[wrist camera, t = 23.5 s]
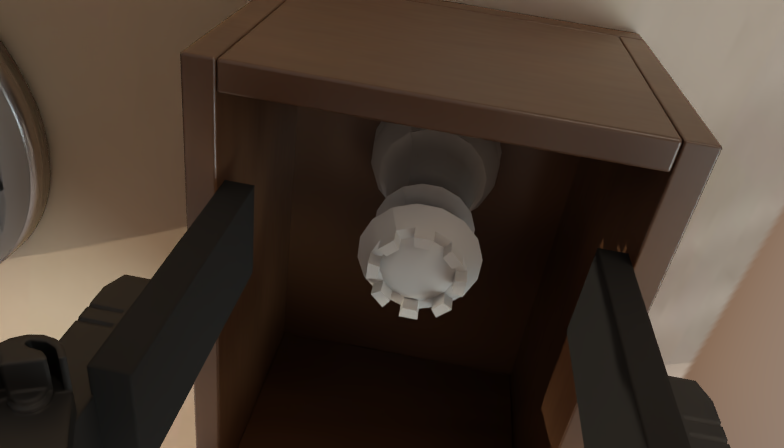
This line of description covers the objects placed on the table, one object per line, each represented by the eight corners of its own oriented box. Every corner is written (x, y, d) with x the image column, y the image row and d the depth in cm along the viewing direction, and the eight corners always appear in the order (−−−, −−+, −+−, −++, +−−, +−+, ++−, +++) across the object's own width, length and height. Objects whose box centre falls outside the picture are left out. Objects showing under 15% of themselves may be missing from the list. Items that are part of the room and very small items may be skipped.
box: (287, -27, 21) (178, 51, 14) (640, 33, 21) (723, 147, 13) (271, 330, 30) (197, 499, 22) (523, 378, 29) (534, 567, 22)
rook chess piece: (353, 114, 23) (295, 236, 16) (472, 64, 21) (465, 175, 14) (406, 217, 25) (375, 365, 18) (519, 178, 23) (532, 322, 16)
